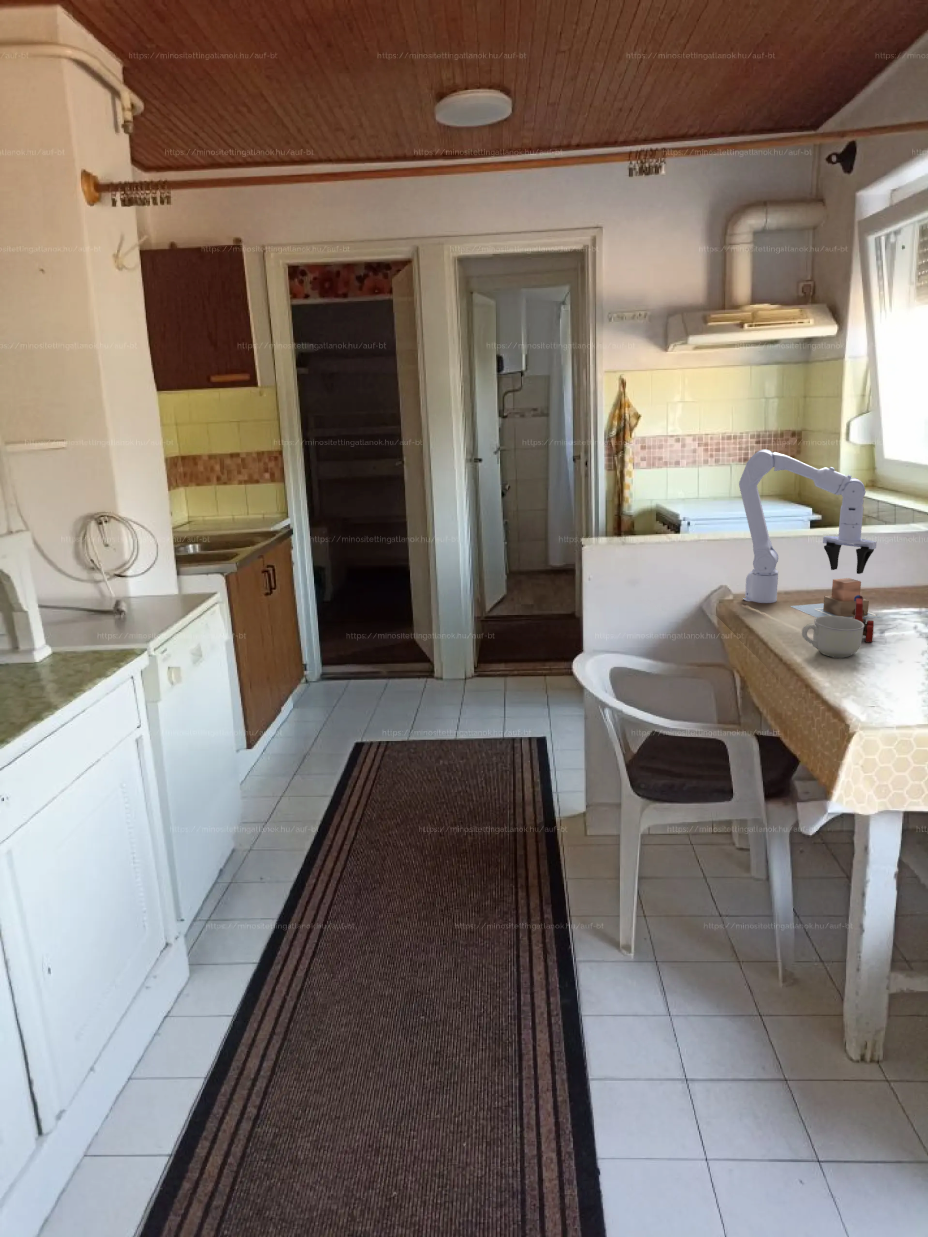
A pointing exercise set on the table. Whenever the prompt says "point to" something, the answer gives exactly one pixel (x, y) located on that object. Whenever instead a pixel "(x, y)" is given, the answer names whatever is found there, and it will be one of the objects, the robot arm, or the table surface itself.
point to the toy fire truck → (859, 614)
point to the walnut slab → (842, 606)
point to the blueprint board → (818, 611)
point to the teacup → (835, 635)
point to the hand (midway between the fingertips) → (846, 571)
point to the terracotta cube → (845, 589)
